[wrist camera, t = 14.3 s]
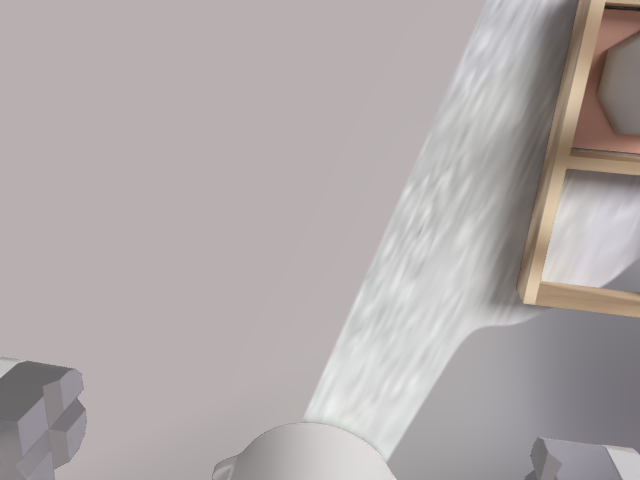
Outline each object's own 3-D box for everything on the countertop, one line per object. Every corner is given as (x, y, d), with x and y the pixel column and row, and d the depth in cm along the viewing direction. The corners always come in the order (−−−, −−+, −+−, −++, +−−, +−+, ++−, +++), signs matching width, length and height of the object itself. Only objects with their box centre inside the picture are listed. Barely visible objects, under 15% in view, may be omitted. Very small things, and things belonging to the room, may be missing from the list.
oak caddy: (665, 306, 40) (681, 322, 38) (516, 288, 41) (523, 303, 39) (765, 1, 33) (793, -2, 31) (581, -11, 34) (594, -14, 32)
